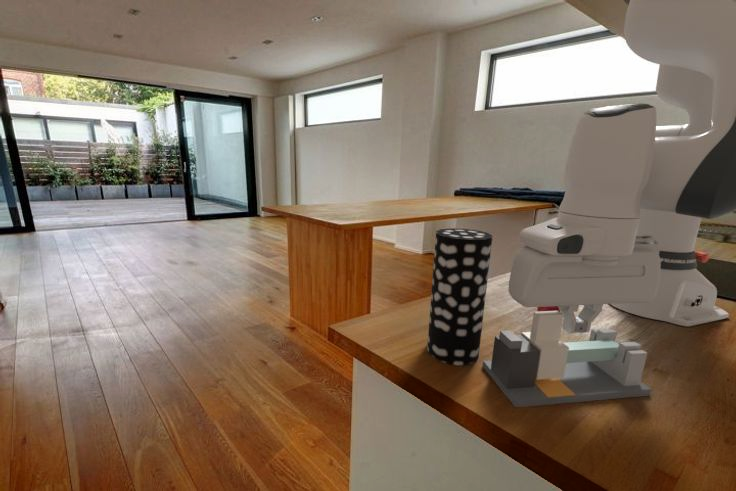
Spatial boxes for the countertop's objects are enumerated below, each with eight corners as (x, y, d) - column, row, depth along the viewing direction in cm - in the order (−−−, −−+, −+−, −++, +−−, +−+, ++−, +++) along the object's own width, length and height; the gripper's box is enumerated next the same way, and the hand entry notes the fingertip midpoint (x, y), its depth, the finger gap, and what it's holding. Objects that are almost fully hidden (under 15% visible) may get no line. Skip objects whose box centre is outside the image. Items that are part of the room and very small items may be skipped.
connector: (515, 367, 50) (521, 326, 49) (534, 386, 46) (541, 342, 44) (490, 369, 50) (495, 328, 48) (506, 389, 45) (513, 344, 44)
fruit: (528, 320, 68) (532, 297, 67) (541, 312, 72) (545, 290, 71) (550, 328, 65) (554, 304, 64) (563, 319, 69) (567, 297, 68)
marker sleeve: (541, 358, 51) (550, 305, 49) (563, 377, 46) (574, 320, 44) (517, 360, 50) (525, 306, 48) (536, 379, 46) (546, 321, 44)
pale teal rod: (608, 351, 51) (611, 339, 50) (620, 359, 49) (622, 346, 48) (509, 358, 48) (511, 345, 48) (517, 366, 46) (519, 353, 46)
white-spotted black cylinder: (424, 337, 60) (432, 227, 56) (471, 339, 60) (482, 229, 55) (431, 364, 52) (441, 238, 48) (485, 366, 52) (500, 240, 47)
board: (597, 358, 55) (598, 352, 55) (649, 395, 46) (651, 388, 46) (482, 366, 52) (483, 360, 52) (515, 407, 43) (516, 400, 43)
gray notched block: (599, 356, 54) (605, 325, 52) (639, 384, 47) (648, 349, 46) (585, 357, 53) (592, 326, 52) (624, 386, 47) (632, 350, 45)
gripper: (640, 230, 49) (620, 317, 52) (509, 231, 46) (497, 324, 49) (685, 240, 43) (660, 338, 46) (538, 241, 40) (522, 347, 43)
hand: (575, 331), depth 48 cm, fingers closed
